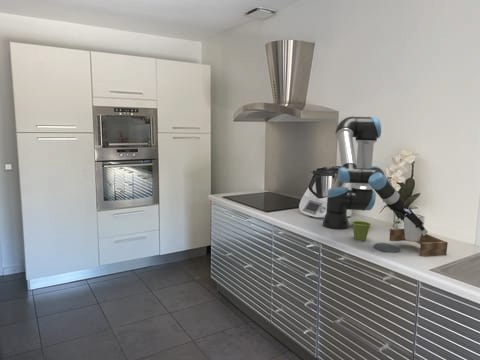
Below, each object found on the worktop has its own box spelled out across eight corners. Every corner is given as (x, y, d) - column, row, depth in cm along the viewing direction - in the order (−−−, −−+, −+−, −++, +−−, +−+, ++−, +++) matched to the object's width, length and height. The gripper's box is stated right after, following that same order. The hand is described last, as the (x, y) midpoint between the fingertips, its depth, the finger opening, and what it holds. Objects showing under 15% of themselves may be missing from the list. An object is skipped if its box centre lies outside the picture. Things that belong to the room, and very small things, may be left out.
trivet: (373, 243, 179) (373, 242, 179) (398, 246, 175) (398, 245, 175) (374, 250, 168) (374, 249, 168) (401, 253, 164) (401, 252, 164)
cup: (423, 243, 168) (426, 219, 166) (403, 241, 171) (405, 217, 169) (420, 237, 177) (422, 214, 175) (400, 235, 179) (403, 212, 177)
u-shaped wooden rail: (420, 256, 162) (422, 243, 161) (389, 240, 185) (390, 229, 184) (446, 254, 164) (447, 242, 164) (411, 239, 188) (412, 228, 187)
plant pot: (370, 238, 188) (371, 222, 186) (368, 243, 179) (369, 226, 178) (352, 235, 192) (353, 220, 191) (349, 240, 183) (350, 223, 182)
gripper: (374, 200, 178) (399, 229, 184) (401, 210, 157) (429, 243, 163) (384, 189, 179) (409, 219, 184) (413, 198, 157) (440, 232, 163)
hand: (418, 230), depth 174 cm, fingers closed on cup, 9 cm apart
